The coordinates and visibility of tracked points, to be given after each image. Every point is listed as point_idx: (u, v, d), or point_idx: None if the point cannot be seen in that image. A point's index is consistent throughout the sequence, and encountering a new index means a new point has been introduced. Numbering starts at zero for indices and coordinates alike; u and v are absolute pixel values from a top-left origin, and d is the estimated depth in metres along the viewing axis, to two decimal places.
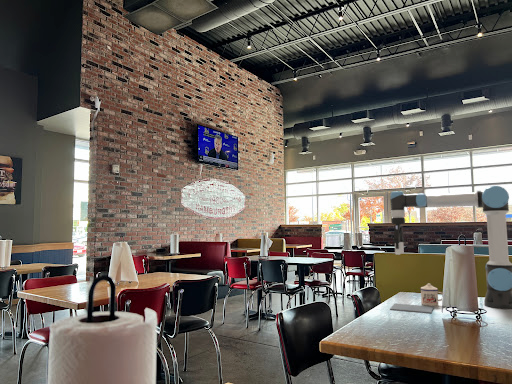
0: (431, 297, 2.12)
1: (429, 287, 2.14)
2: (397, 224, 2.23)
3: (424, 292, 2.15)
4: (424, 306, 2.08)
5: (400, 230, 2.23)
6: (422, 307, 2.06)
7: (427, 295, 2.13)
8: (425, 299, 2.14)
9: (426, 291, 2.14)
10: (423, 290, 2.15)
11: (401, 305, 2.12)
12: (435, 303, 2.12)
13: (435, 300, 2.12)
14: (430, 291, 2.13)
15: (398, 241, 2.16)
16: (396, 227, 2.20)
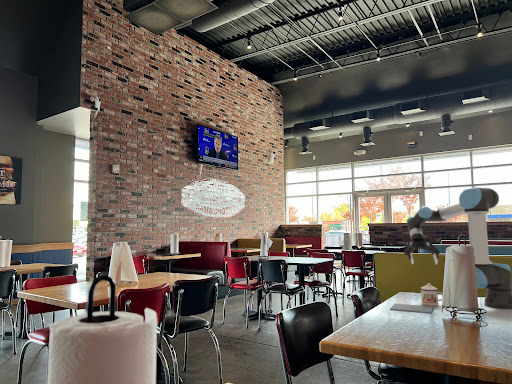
0: (431, 297, 2.12)
1: (429, 287, 2.14)
2: (412, 241, 2.42)
3: (424, 292, 2.15)
4: (424, 306, 2.08)
5: (414, 244, 2.38)
6: (422, 307, 2.06)
7: (427, 295, 2.13)
8: (425, 299, 2.14)
9: (426, 291, 2.14)
10: (423, 290, 2.15)
11: (401, 305, 2.12)
12: (435, 303, 2.12)
13: (435, 300, 2.12)
14: (430, 291, 2.13)
15: (405, 252, 2.35)
16: (407, 243, 2.41)
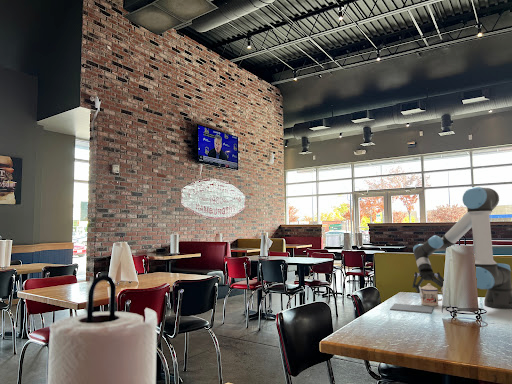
0: (431, 297, 2.12)
1: (429, 287, 2.14)
2: (419, 272, 2.27)
3: (424, 292, 2.15)
4: (424, 306, 2.08)
5: (422, 275, 2.24)
6: (422, 307, 2.06)
7: (427, 295, 2.13)
8: (425, 299, 2.14)
9: (426, 291, 2.14)
10: (423, 290, 2.15)
11: (401, 305, 2.12)
12: (435, 303, 2.12)
13: (435, 300, 2.12)
14: (430, 291, 2.13)
15: (413, 284, 2.20)
16: (414, 275, 2.26)
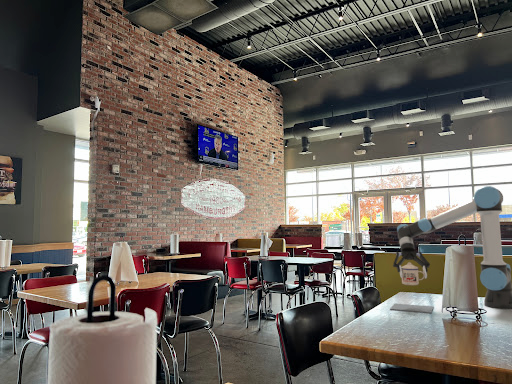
0: (411, 276, 2.08)
1: (409, 266, 2.10)
2: (401, 251, 2.23)
3: (404, 271, 2.10)
4: (424, 306, 2.08)
5: (404, 255, 2.19)
6: (422, 307, 2.06)
7: (407, 274, 2.09)
8: (405, 278, 2.10)
9: (406, 270, 2.09)
10: (403, 269, 2.11)
11: (401, 305, 2.12)
12: (415, 282, 2.08)
13: (415, 279, 2.08)
14: (410, 270, 2.08)
15: (393, 264, 2.16)
16: (396, 254, 2.22)
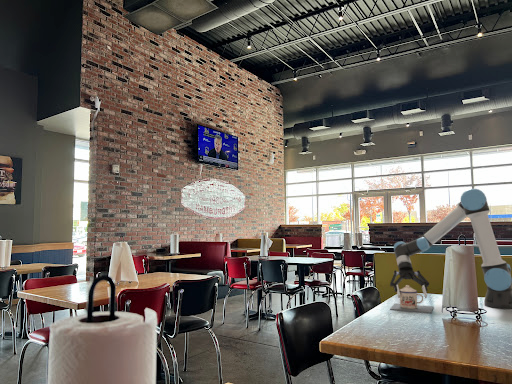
0: (409, 300, 2.03)
1: (408, 289, 2.05)
2: (399, 270, 2.18)
3: (402, 294, 2.05)
4: (424, 306, 2.08)
5: (401, 274, 2.14)
6: (422, 307, 2.06)
7: (405, 297, 2.04)
8: (403, 302, 2.04)
9: (404, 293, 2.04)
10: (401, 292, 2.06)
11: None
12: (414, 306, 2.03)
13: (414, 303, 2.03)
14: (408, 293, 2.03)
15: (390, 283, 2.11)
16: None
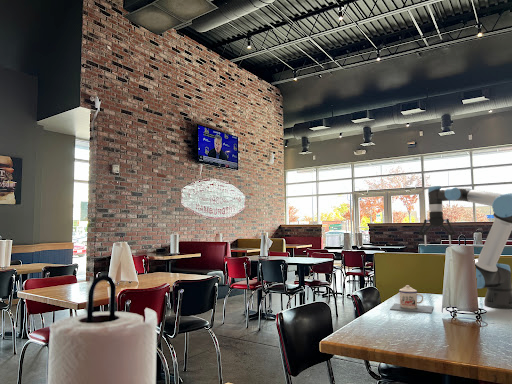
0: (410, 300, 2.03)
1: (408, 289, 2.05)
2: None
3: (402, 294, 2.05)
4: (424, 306, 2.08)
5: (431, 223, 2.36)
6: (422, 307, 2.06)
7: (405, 297, 2.04)
8: (403, 302, 2.04)
9: (404, 293, 2.04)
10: (401, 292, 2.05)
11: None
12: (414, 306, 2.03)
13: (414, 303, 2.03)
14: (409, 293, 2.03)
15: (419, 233, 2.39)
16: (424, 221, 2.39)
